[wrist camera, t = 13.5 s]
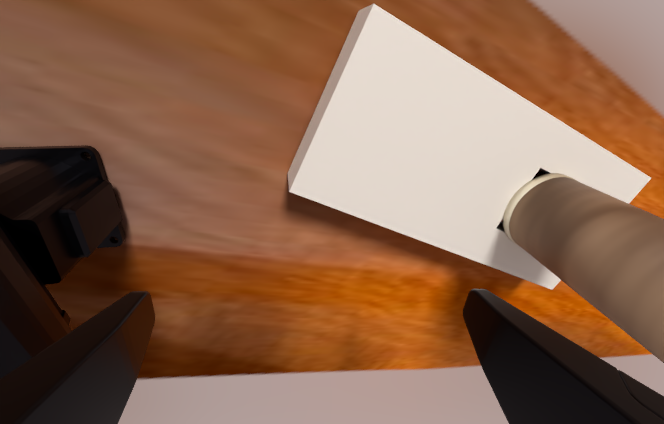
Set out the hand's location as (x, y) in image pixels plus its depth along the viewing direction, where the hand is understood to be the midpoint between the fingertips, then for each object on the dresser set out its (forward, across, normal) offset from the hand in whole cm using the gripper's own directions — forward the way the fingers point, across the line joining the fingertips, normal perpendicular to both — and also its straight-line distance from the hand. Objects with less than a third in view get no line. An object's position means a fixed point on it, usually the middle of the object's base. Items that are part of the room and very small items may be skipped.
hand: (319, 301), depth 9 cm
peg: (+13, -16, +2) cm, 20 cm away
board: (+13, -11, 0) cm, 17 cm away
